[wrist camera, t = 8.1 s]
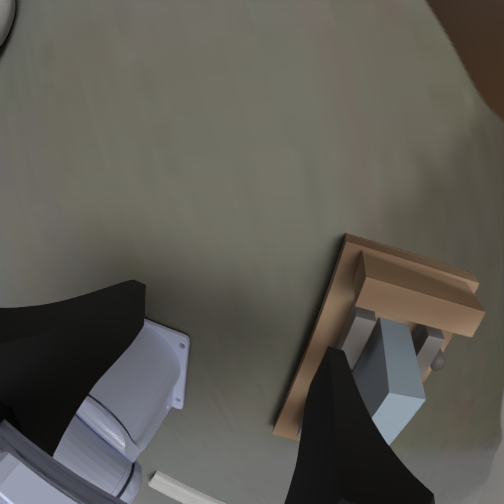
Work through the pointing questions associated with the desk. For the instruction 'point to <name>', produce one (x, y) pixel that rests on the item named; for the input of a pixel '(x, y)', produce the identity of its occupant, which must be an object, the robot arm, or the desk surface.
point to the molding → (179, 490)
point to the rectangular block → (390, 378)
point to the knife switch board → (383, 313)
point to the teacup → (6, 18)
